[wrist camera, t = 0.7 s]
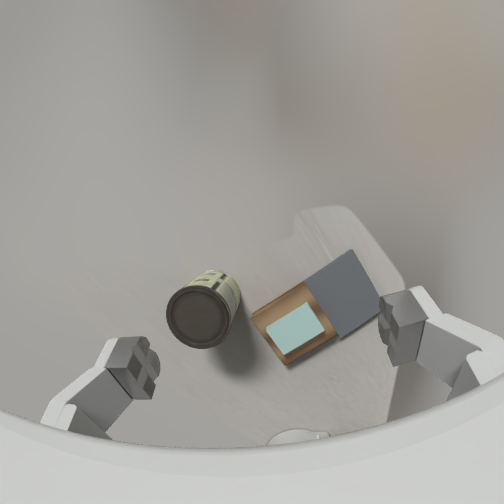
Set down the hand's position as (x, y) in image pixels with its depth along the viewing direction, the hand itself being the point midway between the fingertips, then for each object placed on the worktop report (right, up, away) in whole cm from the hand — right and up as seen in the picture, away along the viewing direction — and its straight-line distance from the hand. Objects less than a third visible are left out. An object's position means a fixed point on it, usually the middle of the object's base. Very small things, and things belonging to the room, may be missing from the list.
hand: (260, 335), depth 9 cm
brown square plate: (+8, -11, +47) cm, 49 cm away
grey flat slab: (+18, -6, +45) cm, 49 cm away
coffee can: (-8, -6, +47) cm, 48 cm away
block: (+8, -11, +44) cm, 46 cm away
